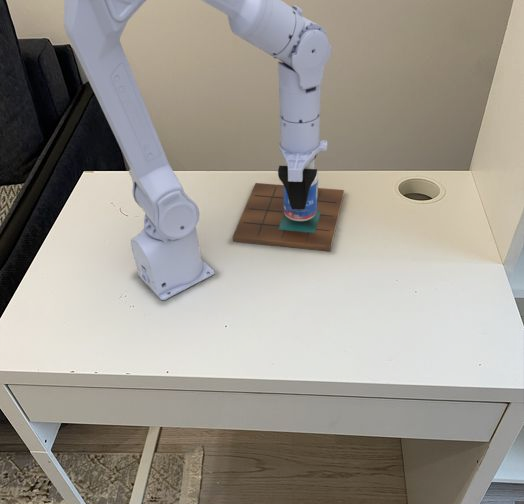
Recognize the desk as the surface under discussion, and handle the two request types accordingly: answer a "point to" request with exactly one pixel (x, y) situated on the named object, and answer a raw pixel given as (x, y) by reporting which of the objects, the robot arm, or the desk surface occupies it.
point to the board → (288, 220)
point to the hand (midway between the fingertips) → (300, 197)
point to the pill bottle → (311, 201)
